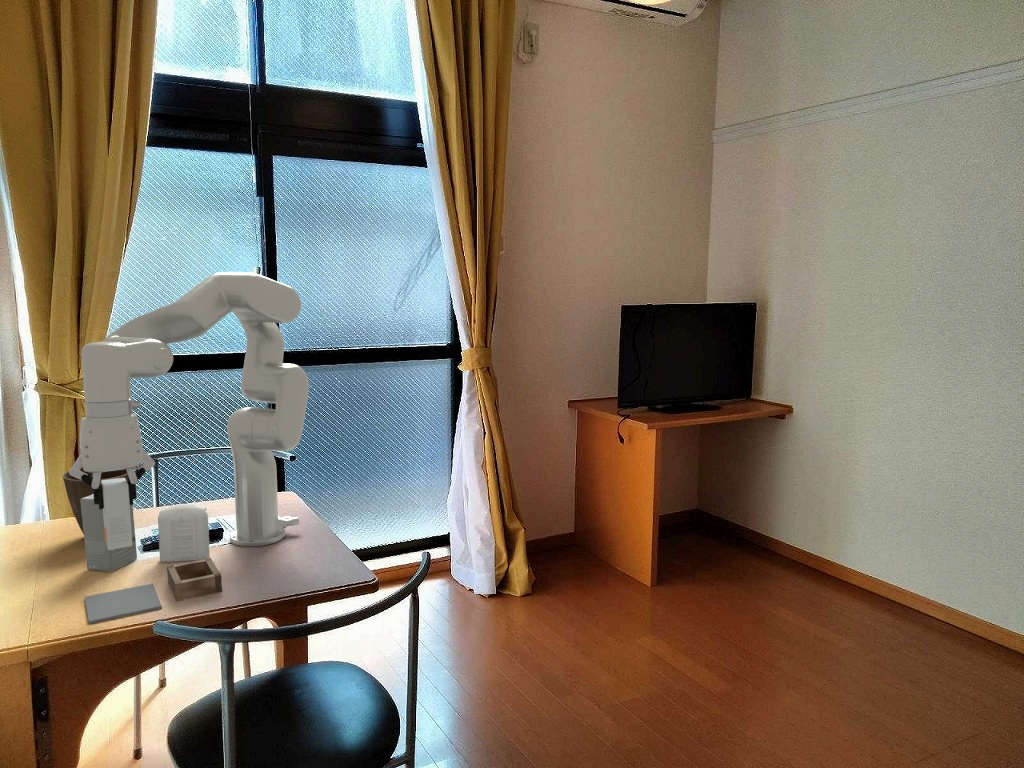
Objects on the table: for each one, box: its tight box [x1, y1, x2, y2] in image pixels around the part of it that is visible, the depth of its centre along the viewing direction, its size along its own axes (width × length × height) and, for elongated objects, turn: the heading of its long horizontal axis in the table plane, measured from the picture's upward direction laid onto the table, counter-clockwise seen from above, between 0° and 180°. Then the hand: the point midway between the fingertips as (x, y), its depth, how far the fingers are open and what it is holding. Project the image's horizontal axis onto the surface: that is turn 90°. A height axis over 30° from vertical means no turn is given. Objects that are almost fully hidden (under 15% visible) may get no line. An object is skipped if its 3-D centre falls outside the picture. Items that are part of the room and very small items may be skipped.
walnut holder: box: [166, 557, 223, 602], centre depth 149 cm, size 8×10×4 cm
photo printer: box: [157, 503, 211, 563], centre depth 163 cm, size 10×4×12 cm, turn 103°
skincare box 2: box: [80, 494, 138, 573], centre depth 159 cm, size 8×7×16 cm
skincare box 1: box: [101, 478, 133, 550], centre depth 139 cm, size 6×4×12 cm
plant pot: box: [62, 467, 136, 536], centre depth 176 cm, size 15×15×16 cm
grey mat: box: [84, 583, 163, 625], centre depth 141 cm, size 12×12×1 cm
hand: (115, 504), depth 139 cm, fingers closed on skincare box 1, 4 cm apart
